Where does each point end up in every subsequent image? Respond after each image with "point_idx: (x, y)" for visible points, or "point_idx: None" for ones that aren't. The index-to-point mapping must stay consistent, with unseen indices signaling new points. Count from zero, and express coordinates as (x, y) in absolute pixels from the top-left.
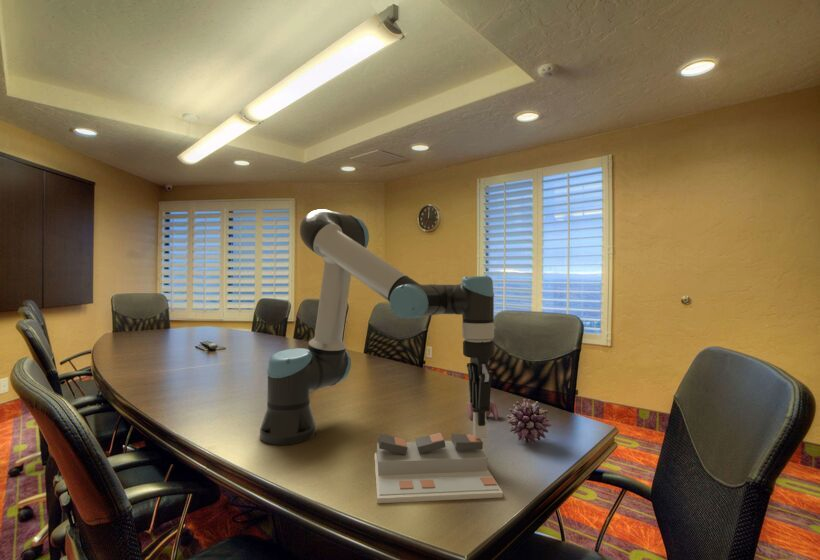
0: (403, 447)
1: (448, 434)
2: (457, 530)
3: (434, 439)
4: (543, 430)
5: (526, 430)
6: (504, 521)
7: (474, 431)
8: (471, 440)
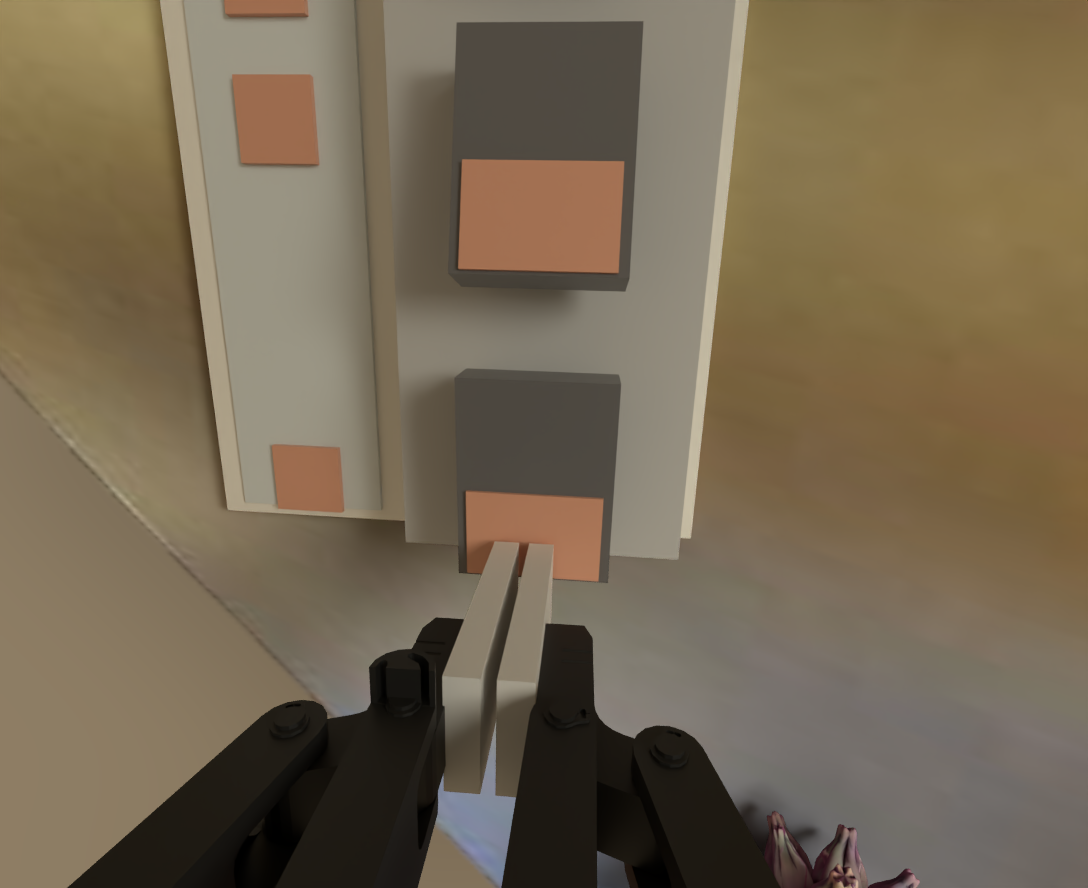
0: None
1: (1027, 449)
2: None
3: (507, 191)
4: None
5: None
6: (74, 439)
7: (525, 564)
8: (483, 504)
